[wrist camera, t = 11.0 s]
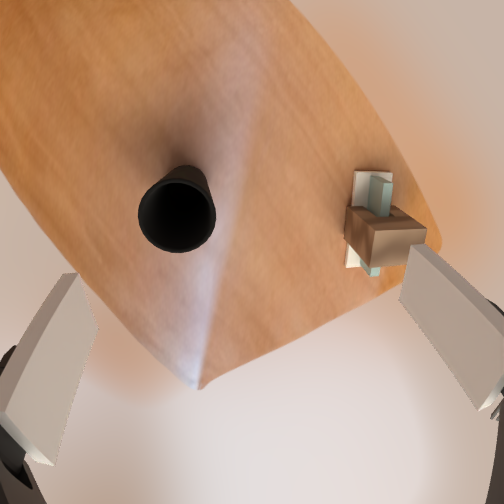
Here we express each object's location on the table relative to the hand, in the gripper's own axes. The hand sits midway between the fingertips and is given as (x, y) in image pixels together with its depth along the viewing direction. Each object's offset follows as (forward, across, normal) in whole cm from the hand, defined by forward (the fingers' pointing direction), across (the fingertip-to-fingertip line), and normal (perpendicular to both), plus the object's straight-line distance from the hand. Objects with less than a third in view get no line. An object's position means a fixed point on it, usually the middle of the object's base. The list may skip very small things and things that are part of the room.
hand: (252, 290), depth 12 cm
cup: (+31, -5, -4) cm, 32 cm away
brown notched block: (+30, +20, -11) cm, 38 cm away
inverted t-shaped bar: (+31, +20, -11) cm, 39 cm away
